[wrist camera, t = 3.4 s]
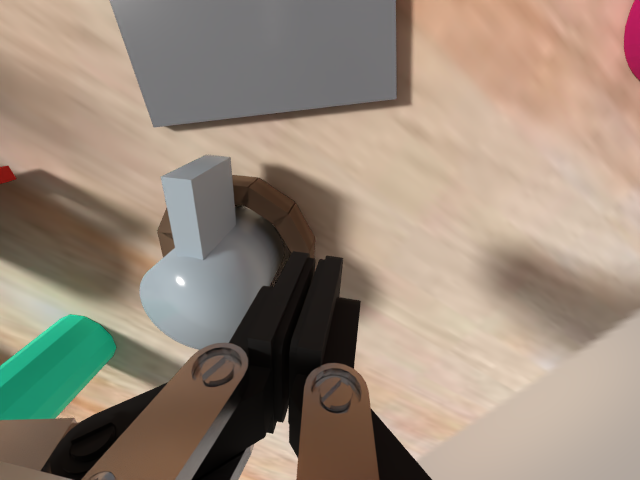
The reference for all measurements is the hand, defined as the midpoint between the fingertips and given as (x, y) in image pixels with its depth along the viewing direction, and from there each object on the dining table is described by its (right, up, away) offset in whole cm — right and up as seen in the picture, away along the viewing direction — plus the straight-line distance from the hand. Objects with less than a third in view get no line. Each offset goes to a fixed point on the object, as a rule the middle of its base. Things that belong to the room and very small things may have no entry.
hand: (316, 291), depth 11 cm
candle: (-23, -8, +20) cm, 32 cm away
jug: (-5, +3, +11) cm, 12 cm away
